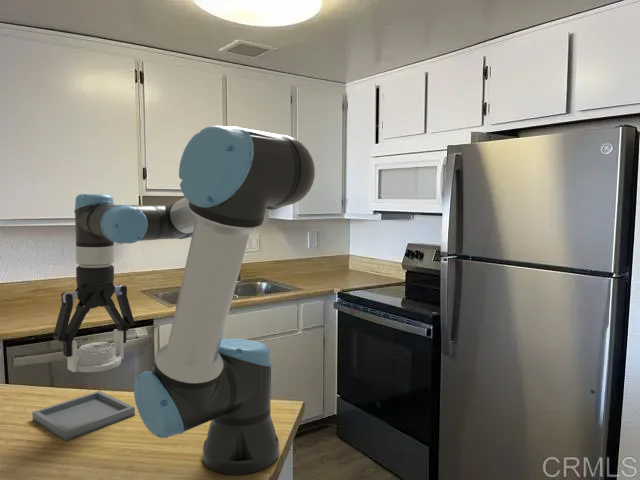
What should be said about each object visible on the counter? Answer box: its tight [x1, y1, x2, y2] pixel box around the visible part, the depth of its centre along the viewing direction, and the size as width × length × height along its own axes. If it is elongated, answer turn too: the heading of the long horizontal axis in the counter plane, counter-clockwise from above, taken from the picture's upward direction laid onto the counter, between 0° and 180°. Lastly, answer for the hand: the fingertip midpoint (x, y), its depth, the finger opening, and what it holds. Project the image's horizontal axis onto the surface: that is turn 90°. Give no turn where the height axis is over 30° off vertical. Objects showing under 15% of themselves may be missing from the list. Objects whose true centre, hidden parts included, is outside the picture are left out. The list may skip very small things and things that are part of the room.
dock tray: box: [32, 390, 136, 442], centre depth 113 cm, size 16×16×2 cm
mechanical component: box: [77, 341, 122, 373], centre depth 107 cm, size 10×4×10 cm
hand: (96, 363), depth 108 cm, fingers closed on mechanical component, 10 cm apart
